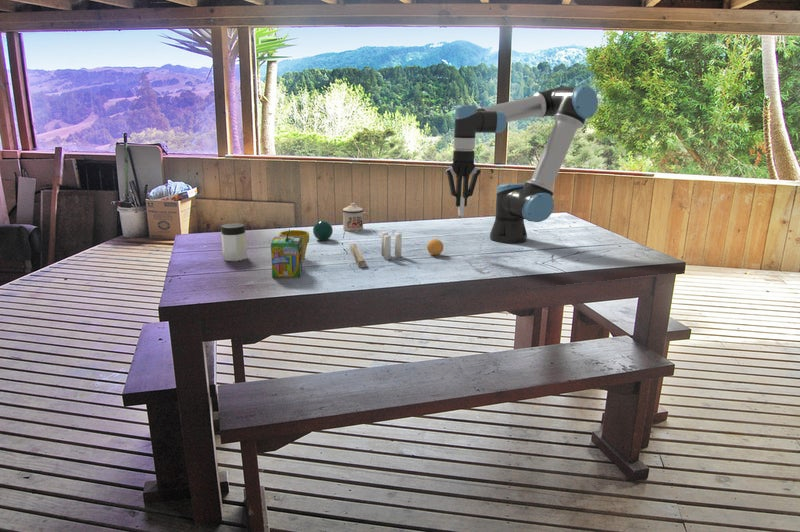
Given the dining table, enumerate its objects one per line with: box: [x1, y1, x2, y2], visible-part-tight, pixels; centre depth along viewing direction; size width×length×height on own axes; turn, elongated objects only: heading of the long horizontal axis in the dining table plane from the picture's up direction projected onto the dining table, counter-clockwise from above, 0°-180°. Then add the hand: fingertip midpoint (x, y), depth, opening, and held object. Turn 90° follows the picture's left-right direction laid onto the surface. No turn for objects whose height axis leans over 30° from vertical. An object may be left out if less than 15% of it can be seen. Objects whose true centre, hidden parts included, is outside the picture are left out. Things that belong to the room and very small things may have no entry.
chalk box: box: [270, 228, 303, 279], centre depth 184 cm, size 9×9×15 cm
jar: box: [220, 222, 248, 262], centre depth 201 cm, size 9×8×12 cm
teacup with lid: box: [342, 202, 370, 232], centre depth 250 cm, size 12×9×12 cm
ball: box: [426, 238, 444, 256], centre depth 210 cm, size 6×6×6 cm
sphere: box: [312, 220, 333, 241], centre depth 230 cm, size 8×8×8 cm
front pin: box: [394, 232, 403, 258], centre depth 207 cm, size 2×2×8 cm
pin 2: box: [383, 234, 392, 261], centre depth 204 cm, size 2×2×8 cm
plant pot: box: [278, 229, 310, 261], centre depth 201 cm, size 10×10×10 cm
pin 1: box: [381, 231, 389, 257], centre depth 208 cm, size 2×2×8 cm
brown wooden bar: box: [349, 243, 366, 269], centre depth 205 cm, size 2×24×2 cm, turn 12°
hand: (460, 215), depth 209 cm, fingers closed
